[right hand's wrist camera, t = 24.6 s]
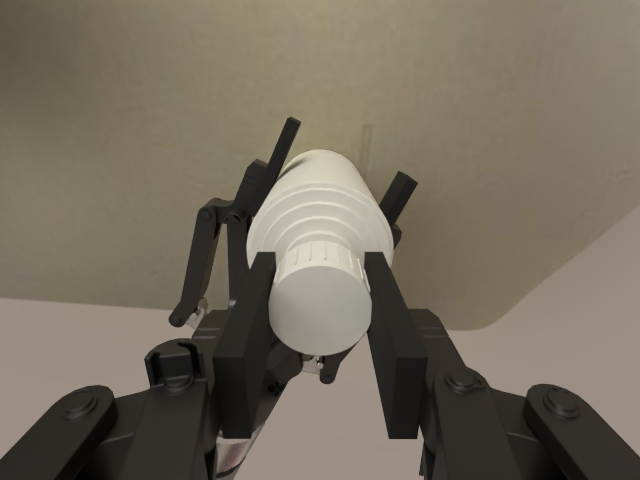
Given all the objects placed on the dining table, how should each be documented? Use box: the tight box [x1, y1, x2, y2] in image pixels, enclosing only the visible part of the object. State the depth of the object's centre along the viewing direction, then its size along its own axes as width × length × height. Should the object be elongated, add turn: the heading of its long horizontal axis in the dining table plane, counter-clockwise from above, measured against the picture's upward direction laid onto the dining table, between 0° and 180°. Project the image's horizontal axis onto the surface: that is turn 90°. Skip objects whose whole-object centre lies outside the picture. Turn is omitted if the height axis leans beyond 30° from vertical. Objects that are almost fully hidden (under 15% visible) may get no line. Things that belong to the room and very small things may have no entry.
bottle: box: [246, 149, 394, 270], centre depth 21 cm, size 7×7×18 cm
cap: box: [268, 240, 372, 356], centre depth 14 cm, size 4×4×2 cm
